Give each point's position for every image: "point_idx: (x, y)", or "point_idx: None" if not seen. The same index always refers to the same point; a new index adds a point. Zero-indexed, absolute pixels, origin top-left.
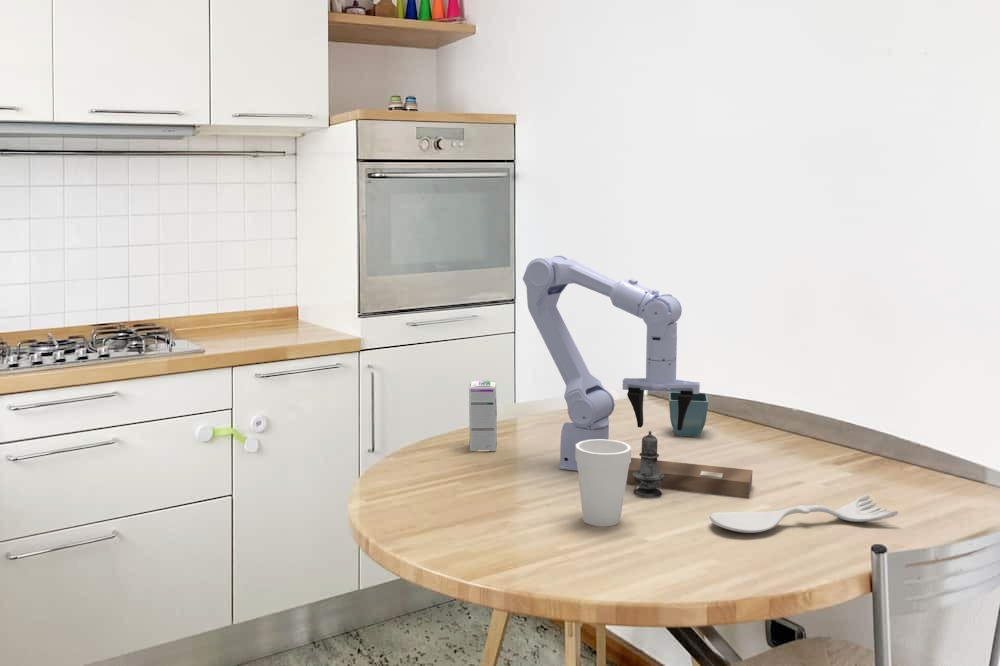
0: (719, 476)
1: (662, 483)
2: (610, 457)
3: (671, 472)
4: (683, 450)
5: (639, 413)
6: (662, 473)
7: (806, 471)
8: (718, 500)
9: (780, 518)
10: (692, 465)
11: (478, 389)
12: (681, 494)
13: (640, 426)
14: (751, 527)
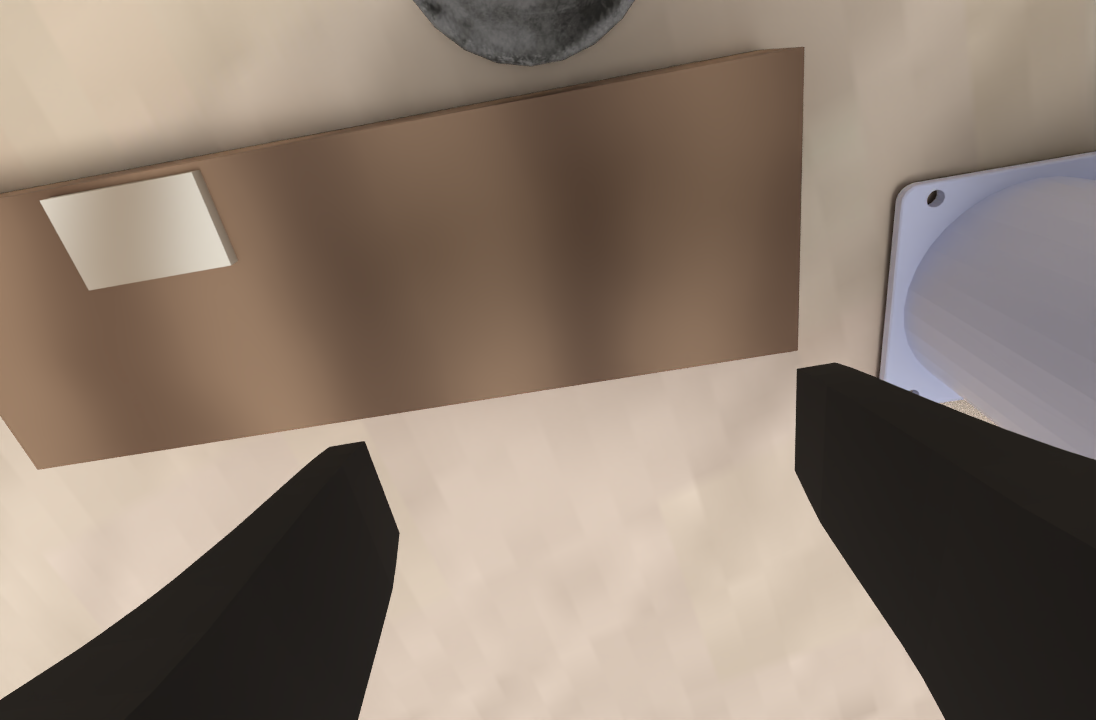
0: (61, 207)
1: (473, 105)
2: None
3: (416, 161)
4: (598, 699)
5: (932, 439)
6: (428, 9)
7: None
8: (69, 52)
9: None
10: (368, 386)
11: None
12: (320, 45)
13: (810, 371)
14: None
